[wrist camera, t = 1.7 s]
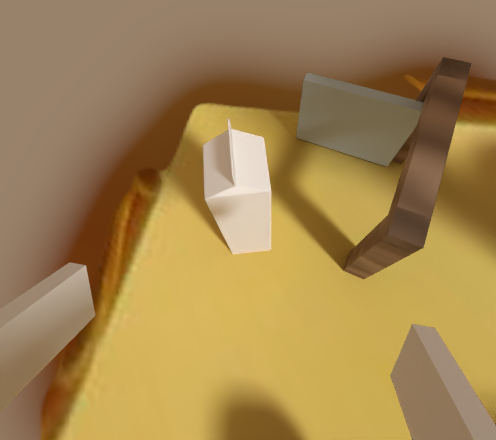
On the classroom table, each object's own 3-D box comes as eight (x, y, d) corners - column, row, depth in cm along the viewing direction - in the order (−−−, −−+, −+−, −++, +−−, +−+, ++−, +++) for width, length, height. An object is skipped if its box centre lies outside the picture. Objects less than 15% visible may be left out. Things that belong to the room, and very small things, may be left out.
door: (392, 152, 45) (431, 94, 34) (387, 166, 44) (426, 112, 33) (302, 124, 49) (311, 64, 38) (296, 137, 48) (303, 79, 37)
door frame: (387, 144, 46) (443, 57, 31) (405, 149, 45) (471, 63, 31) (343, 270, 39) (388, 234, 24) (363, 279, 38) (423, 247, 23)
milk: (266, 214, 43) (264, 110, 23) (271, 251, 41) (273, 171, 20) (229, 218, 43) (193, 119, 23) (231, 255, 41) (194, 180, 20)
